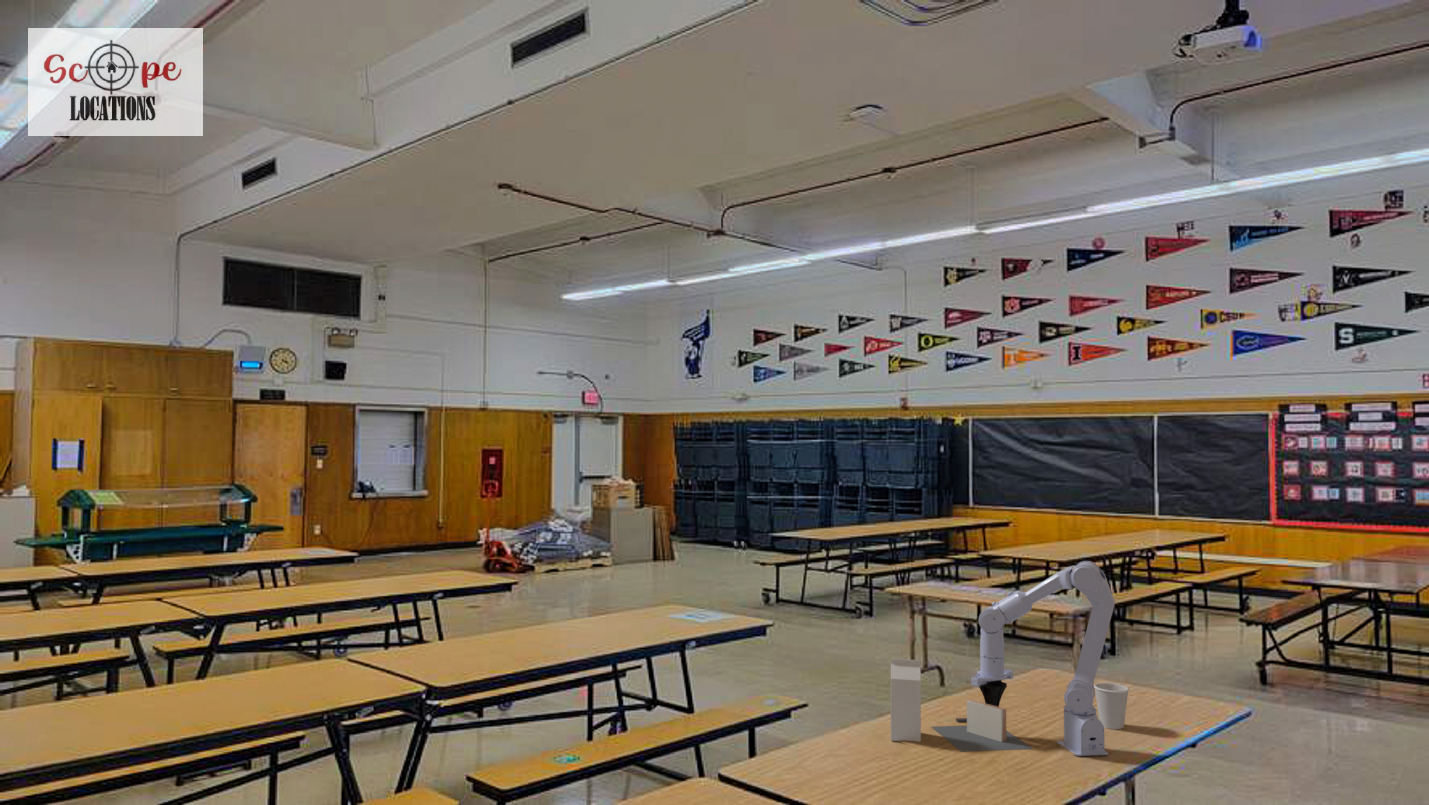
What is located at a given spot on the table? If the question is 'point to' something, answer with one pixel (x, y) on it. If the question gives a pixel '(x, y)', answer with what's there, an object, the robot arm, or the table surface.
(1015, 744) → the mat
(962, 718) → the turner
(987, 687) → the robot arm
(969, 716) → the tile
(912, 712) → the milk carton
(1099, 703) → the dixie cup
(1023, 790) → the table surface
